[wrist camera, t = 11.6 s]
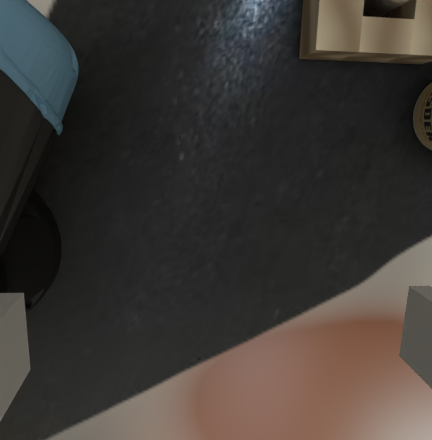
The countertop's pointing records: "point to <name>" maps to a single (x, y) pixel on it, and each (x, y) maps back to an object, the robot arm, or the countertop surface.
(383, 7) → the peg
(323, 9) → the hole block
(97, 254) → the countertop surface
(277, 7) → the countertop surface
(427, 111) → the coffee cup
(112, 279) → the countertop surface
